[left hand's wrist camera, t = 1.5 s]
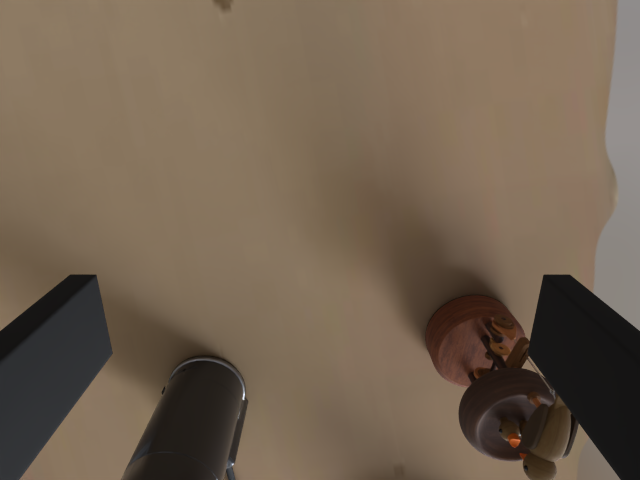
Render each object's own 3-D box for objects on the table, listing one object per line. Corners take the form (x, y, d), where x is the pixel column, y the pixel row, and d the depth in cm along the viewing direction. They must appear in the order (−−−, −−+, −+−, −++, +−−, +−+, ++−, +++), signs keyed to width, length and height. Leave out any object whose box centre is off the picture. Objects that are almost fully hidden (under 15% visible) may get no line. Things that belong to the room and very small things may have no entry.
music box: (426, 282, 48) (517, 411, 30) (519, 279, 49) (664, 403, 31) (414, 391, 54) (485, 559, 35) (498, 387, 55) (611, 548, 36)
